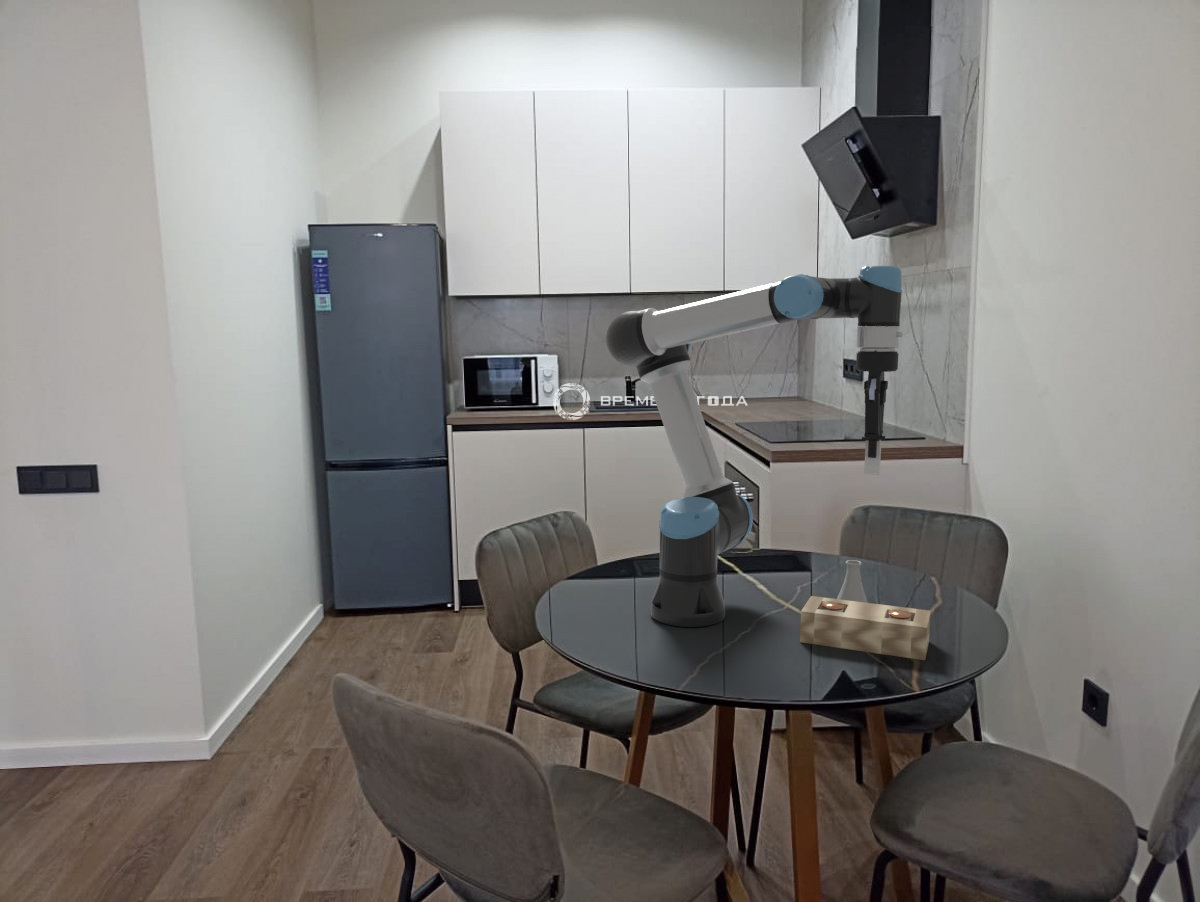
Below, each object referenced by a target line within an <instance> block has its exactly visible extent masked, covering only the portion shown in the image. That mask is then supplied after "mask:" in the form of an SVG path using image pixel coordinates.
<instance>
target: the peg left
mask: <svg viewBox="0 0 1200 902" xmlns="http://www.w3.org/2000/svg"><path fill="white" fill-rule="evenodd" d="M843 608H844V604H842V603H840V602H835V601H826V602H823V603H822V610H829V611H836V612H843Z"/></svg>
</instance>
